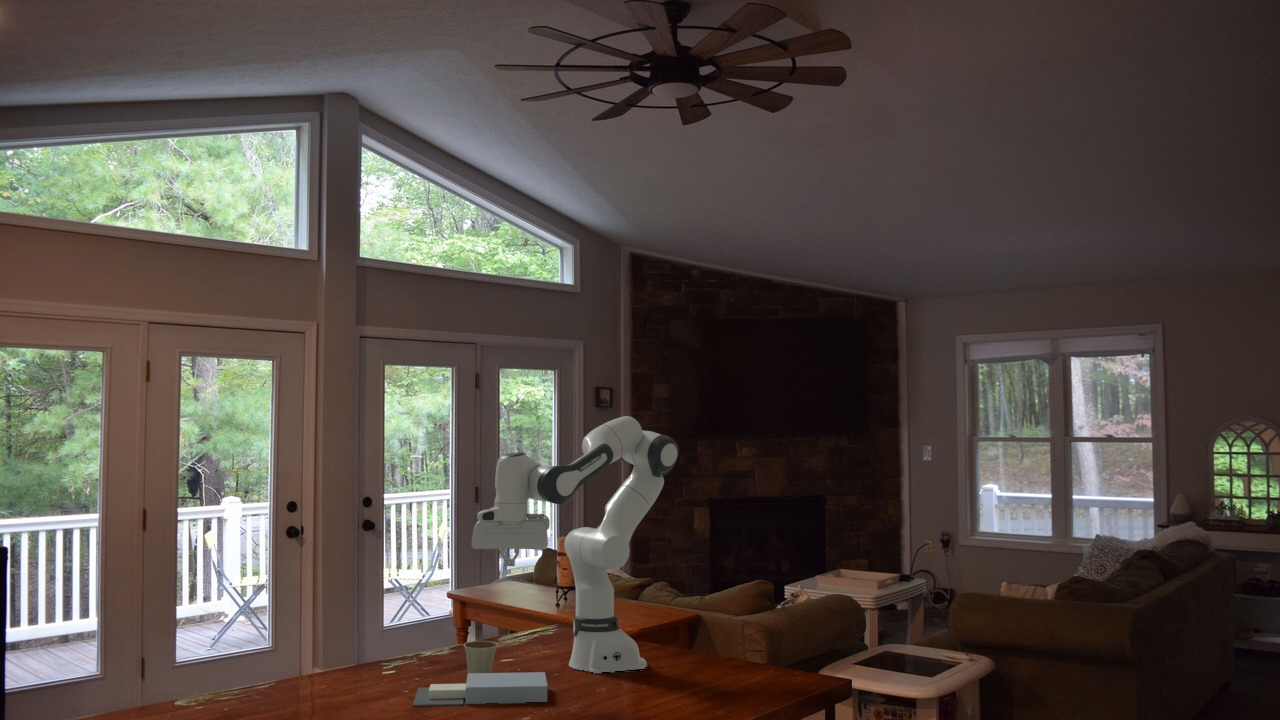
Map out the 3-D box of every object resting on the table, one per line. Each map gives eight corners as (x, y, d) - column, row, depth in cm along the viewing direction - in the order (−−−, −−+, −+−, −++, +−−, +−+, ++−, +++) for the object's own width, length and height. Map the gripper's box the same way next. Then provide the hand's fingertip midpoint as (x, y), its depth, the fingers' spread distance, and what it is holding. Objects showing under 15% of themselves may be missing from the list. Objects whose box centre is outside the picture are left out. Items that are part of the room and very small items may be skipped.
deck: (544, 687, 253) (545, 672, 254) (547, 702, 240) (547, 686, 240) (467, 689, 251) (467, 673, 251) (465, 704, 237) (465, 687, 237)
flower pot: (503, 674, 267) (504, 642, 268) (487, 682, 258) (488, 649, 259) (473, 671, 270) (474, 639, 271) (456, 678, 261) (457, 646, 262)
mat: (465, 688, 252) (465, 686, 252) (462, 705, 236) (462, 703, 236) (418, 689, 250) (418, 687, 250) (412, 706, 234) (412, 704, 234)
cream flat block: (466, 691, 247) (466, 683, 247) (465, 697, 241) (465, 689, 241) (430, 692, 246) (430, 684, 246) (428, 698, 240) (428, 690, 240)
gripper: (549, 512, 263) (547, 564, 262) (473, 512, 260) (471, 564, 259) (550, 514, 257) (549, 567, 256) (472, 514, 254) (470, 567, 253)
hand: (509, 566), depth 257 cm, fingers closed
